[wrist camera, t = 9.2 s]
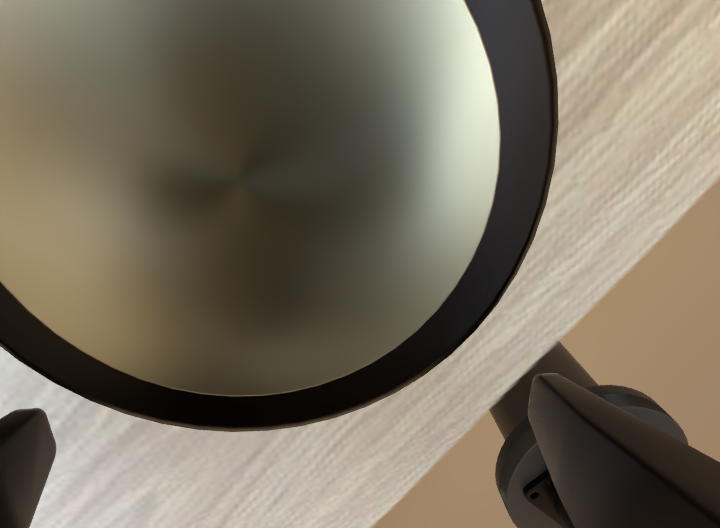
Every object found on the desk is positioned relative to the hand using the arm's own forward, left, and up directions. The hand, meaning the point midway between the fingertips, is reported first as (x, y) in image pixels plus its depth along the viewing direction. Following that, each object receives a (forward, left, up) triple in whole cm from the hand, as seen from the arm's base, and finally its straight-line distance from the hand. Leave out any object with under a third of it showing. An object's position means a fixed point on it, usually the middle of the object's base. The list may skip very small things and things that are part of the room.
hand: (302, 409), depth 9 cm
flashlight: (+4, -4, -4) cm, 7 cm away
